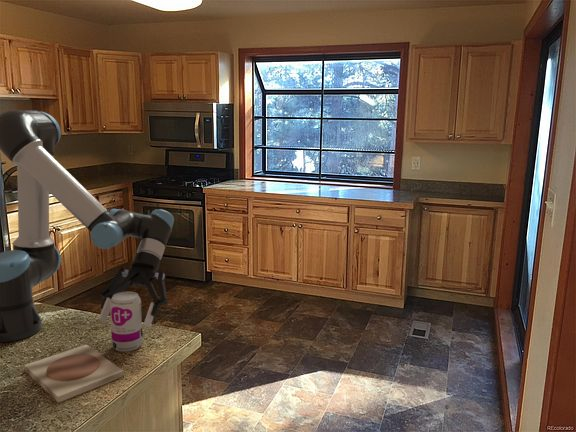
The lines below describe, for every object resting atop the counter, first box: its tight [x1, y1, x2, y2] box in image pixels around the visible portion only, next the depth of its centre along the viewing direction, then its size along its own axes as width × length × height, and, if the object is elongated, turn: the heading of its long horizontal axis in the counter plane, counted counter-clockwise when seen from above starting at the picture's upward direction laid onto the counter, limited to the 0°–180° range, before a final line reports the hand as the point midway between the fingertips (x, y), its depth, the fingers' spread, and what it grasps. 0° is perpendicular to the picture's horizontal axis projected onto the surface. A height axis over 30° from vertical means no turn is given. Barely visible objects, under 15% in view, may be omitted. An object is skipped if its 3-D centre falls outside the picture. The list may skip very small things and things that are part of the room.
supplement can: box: [109, 291, 143, 353], centre depth 134 cm, size 8×8×15 cm
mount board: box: [24, 344, 125, 404], centre depth 120 cm, size 20×16×2 cm
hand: (123, 324), depth 132 cm, fingers open, 13 cm apart
